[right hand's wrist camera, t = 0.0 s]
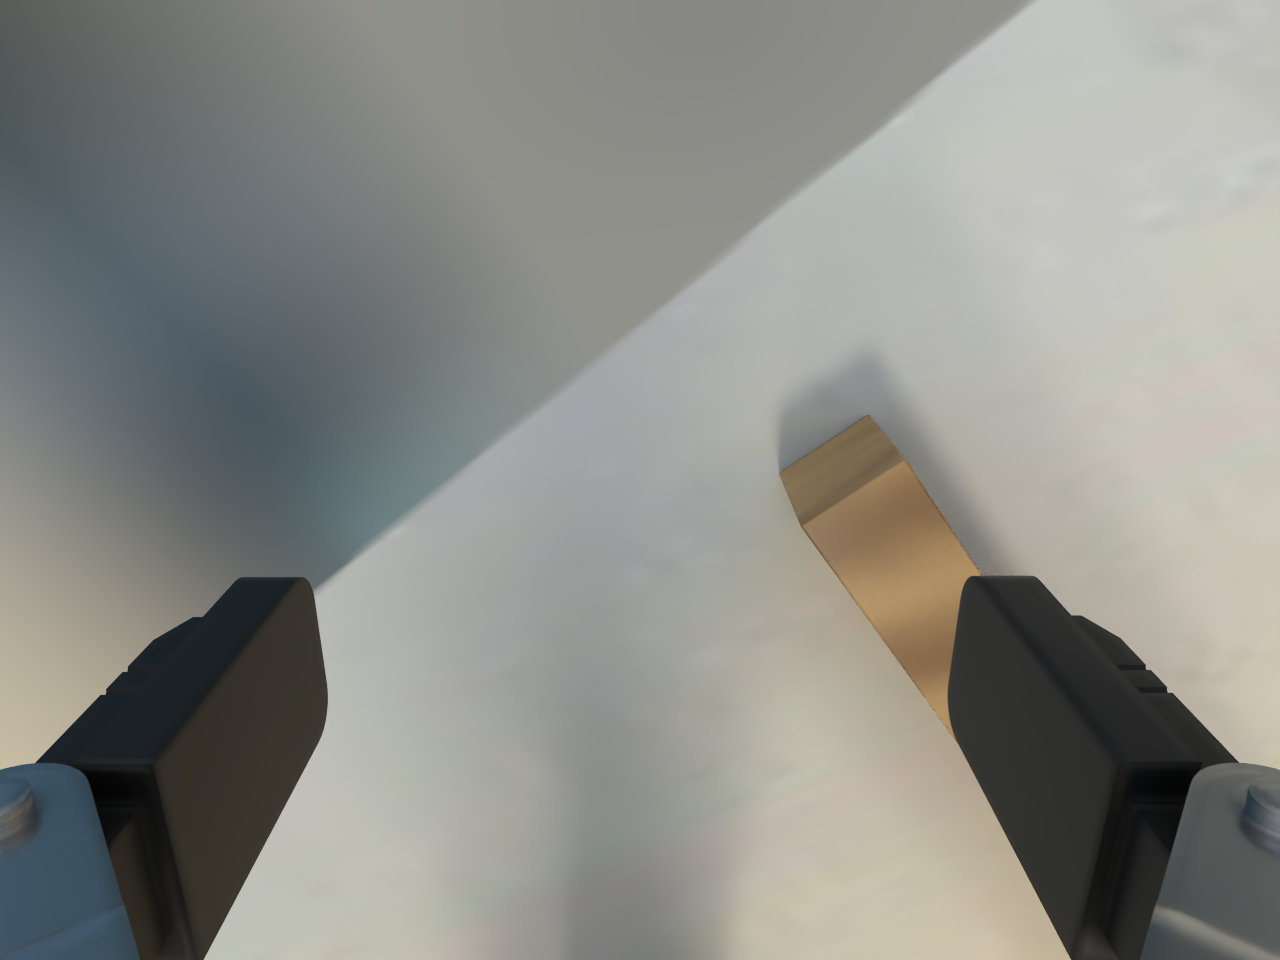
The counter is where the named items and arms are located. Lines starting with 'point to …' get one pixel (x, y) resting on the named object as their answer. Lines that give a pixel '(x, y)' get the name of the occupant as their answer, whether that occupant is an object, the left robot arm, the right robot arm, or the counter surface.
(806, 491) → the beam
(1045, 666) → the right robot arm
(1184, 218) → the counter surface
